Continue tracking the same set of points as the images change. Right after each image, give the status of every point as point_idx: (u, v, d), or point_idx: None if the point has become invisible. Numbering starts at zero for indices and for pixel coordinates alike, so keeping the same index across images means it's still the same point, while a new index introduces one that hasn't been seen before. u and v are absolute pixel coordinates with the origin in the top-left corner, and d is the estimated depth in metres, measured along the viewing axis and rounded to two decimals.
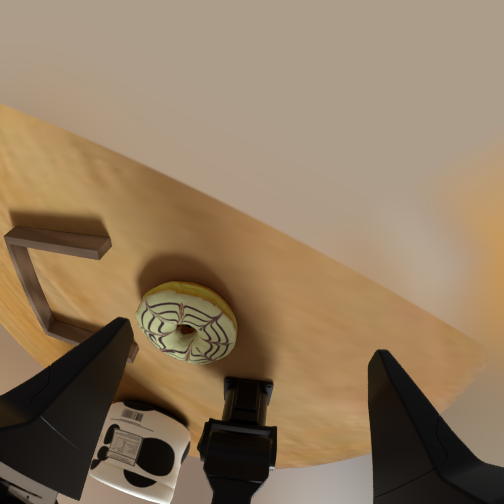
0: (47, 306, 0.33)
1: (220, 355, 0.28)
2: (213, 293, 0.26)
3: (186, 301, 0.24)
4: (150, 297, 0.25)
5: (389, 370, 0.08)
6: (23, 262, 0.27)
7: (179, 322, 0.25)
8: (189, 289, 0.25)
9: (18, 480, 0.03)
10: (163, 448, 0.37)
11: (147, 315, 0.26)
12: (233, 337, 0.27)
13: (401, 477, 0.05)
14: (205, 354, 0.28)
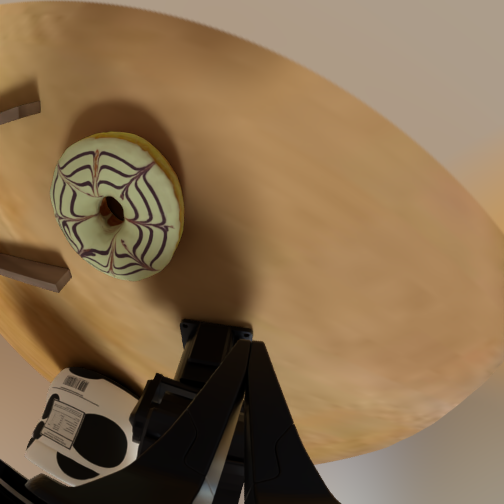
0: None
1: (157, 255, 0.17)
2: (147, 141, 0.15)
3: (103, 145, 0.14)
4: (63, 154, 0.14)
5: (252, 363, 0.08)
6: None
7: (94, 187, 0.15)
8: (111, 133, 0.14)
9: None
10: (110, 430, 0.26)
11: (58, 185, 0.15)
12: (173, 213, 0.16)
13: None
14: (134, 253, 0.17)
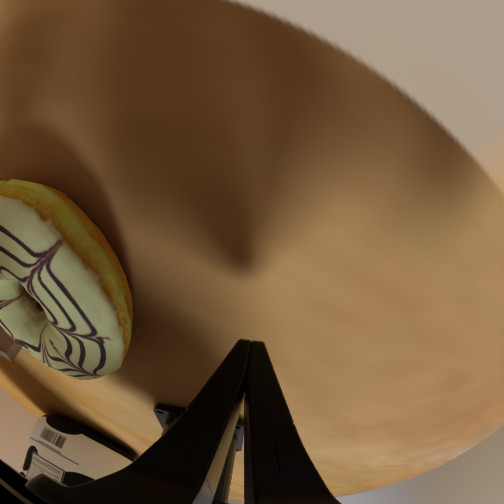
0: None
1: (98, 366, 0.10)
2: (58, 196, 0.08)
3: None
4: None
5: (252, 363, 0.08)
6: None
7: None
8: (8, 186, 0.07)
9: None
10: None
11: None
12: (106, 321, 0.09)
13: None
14: (69, 360, 0.10)
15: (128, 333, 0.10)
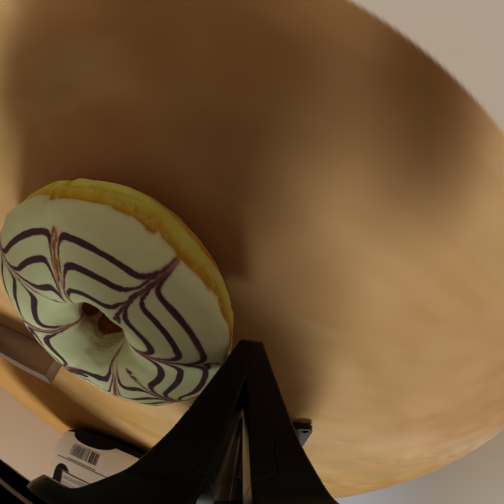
0: None
1: (191, 393, 0.10)
2: (156, 202, 0.08)
3: (63, 218, 0.06)
4: (4, 224, 0.07)
5: (251, 363, 0.08)
6: None
7: (63, 295, 0.07)
8: (81, 188, 0.07)
9: None
10: None
11: (6, 276, 0.08)
12: (221, 346, 0.09)
13: None
14: (151, 389, 0.10)
15: (229, 354, 0.10)
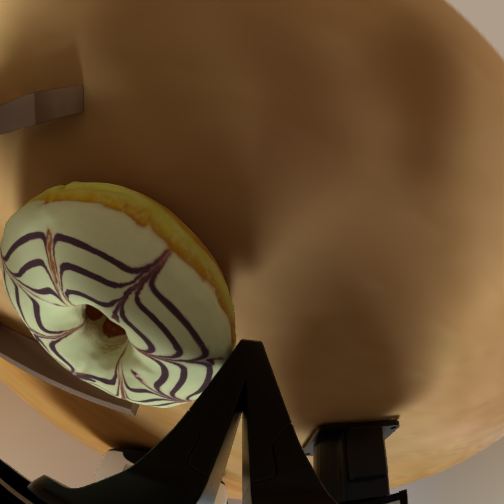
0: None
1: (198, 391, 0.10)
2: (147, 198, 0.08)
3: (57, 219, 0.06)
4: (4, 233, 0.07)
5: (250, 363, 0.08)
6: None
7: (62, 297, 0.08)
8: (73, 189, 0.07)
9: None
10: None
11: (9, 285, 0.08)
12: (222, 339, 0.08)
13: None
14: (158, 389, 0.10)
15: None
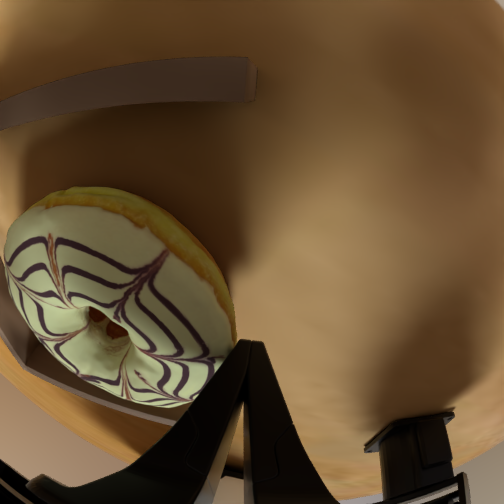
0: None
1: (200, 390, 0.10)
2: (145, 200, 0.08)
3: (57, 223, 0.07)
4: None
5: (251, 363, 0.08)
6: None
7: (65, 300, 0.08)
8: (72, 194, 0.07)
9: None
10: None
11: (13, 289, 0.08)
12: (222, 337, 0.08)
13: None
14: (161, 389, 0.10)
15: None
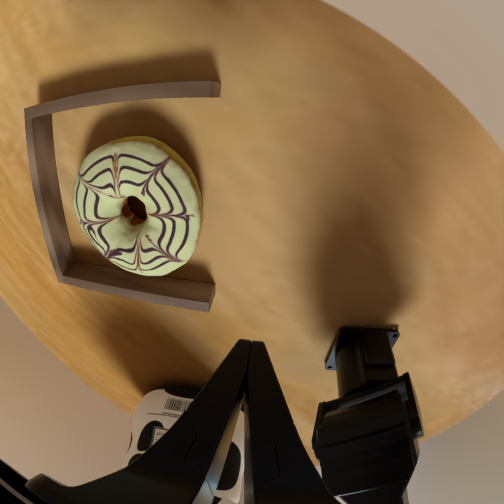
0: (66, 235, 0.23)
1: (181, 245, 0.19)
2: (161, 141, 0.17)
3: (120, 148, 0.16)
4: (83, 162, 0.17)
5: (252, 363, 0.08)
6: (44, 154, 0.18)
7: (116, 188, 0.17)
8: (127, 138, 0.16)
9: None
10: None
11: (80, 191, 0.17)
12: (193, 202, 0.18)
13: None
14: (159, 245, 0.19)
15: (202, 219, 0.19)
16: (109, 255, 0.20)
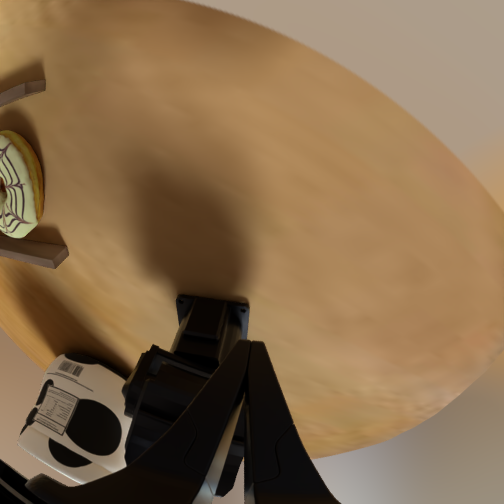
0: None
1: (22, 208, 0.18)
2: (13, 132, 0.16)
3: None
4: None
5: (252, 363, 0.08)
6: None
7: None
8: None
9: None
10: (104, 417, 0.26)
11: None
12: (23, 174, 0.17)
13: None
14: (11, 210, 0.18)
15: (35, 187, 0.18)
16: None
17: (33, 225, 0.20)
